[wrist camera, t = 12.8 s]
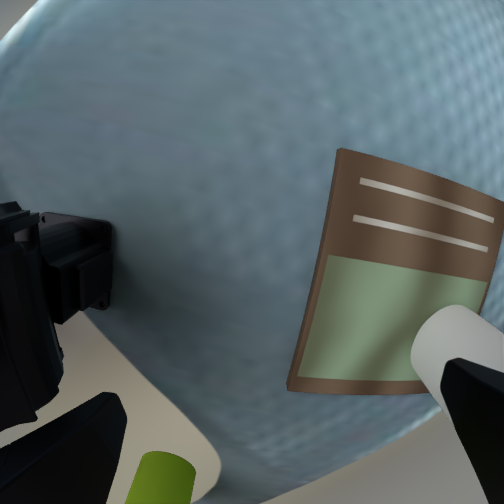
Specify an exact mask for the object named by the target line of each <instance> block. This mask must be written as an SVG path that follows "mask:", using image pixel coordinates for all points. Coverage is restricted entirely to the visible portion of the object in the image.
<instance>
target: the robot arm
mask: <svg viewBox="0 0 504 504" xmlns="http://www.w3.org/2000/svg"><path fill="white" fill-rule="evenodd" d="M45 217H46V221H45ZM38 223H39V225H38ZM103 225H104V226H105V227H106V231H103V229H102V227H103ZM111 231H112V228H111V224H110V223H109V222H108V221H104V220H98V219H91V218H84V217H77V216H71V215H64V214H57V213H50V212H44V213H42V214H41V215H40V216H39V213H30V210H25V211H24V210H22V209H21V208H20V206H19V205H18V203H17V202H16V201H14V202H7V203H1V204H0V432H1V431H3V430H5V429H7V428H10V427H13V426H16V425H18V424H23V423H30V422H35V421H37V419H38V417H37V416H36V413H35V411H37V410H39V409H40V408H42V407H43V406H45V405H46V404H48V403H49V402H50V401H51V400H52V399H53V398H54V397H55V396H56V395H57V394H58V393H59V388H58V385H59V383H60V381H61V378H62V376H63V373H64V371H63V362H62V360H63V357H64V355H63V351H62V348H61V347H60V346H59V342H58V338H57V334H56V330H55V326H54V323H57V324H61V325H62V324H63V323H64V322H66V321H67V320H68V319H69V318H71V317H72V316H73V315H74V314H76V313H77V312H78V311H79V310H80V311H84V310H85V309H87V308H88V307H91V308H95V309H99V310H106V309H107V308H108V307H109V306H110V289H111V288H112V257H113V255H112V253H111V251H110V250H111ZM101 301H103V302H104V304H105V305H103V304H102V303H101ZM440 391H441V394H442V396H443V399H444V401H445V404H446V406H447V409H448V412H449V414H450V417H451V419H452V422H453V425H454V427H455V430H456V432H457V434H458V436H459V438H460V440H461V443H462V445H463V446H464V449H465V451H466V453H467V455H468V457H469V459H470V461H471V464H472V466H473V468H474V470H475V472H476V475H477V477H478V479H479V481H480V484H481V486H482V488H483V490H484V493H485V495H486V498H487V500H488V503H489V504H504V373H503V372H500V371H497V370H494V369H491V368H489V367H486V366H483V365H480V364H477V363H474V362H471V361H468V360H466V359H463V358H460V357H458V358H454V359H451V360H448V361H447V362H446V364H445V367H444V371H443V374H442V378H441V382H440ZM126 424H127V416H126V413H125V410H124V408H123V406H122V403H121V401H120V398H119V396H118V395H117V394H115V393H110V392H102V393H100V394H98V395H97V396H95V397H93V398H92V399H90V400H88V401H86V402H85V403H83V404H81V405H79V406H78V407H76V408H74V409H73V410H71V411H69V412H67V413H65V414H63V415H62V416H60V417H58V418H57V419H55V420H53V421H51V422H49V423H47V424H45V425H44V426H42V427H40V428H38V429H36V430H35V431H33V432H31V433H29V434H27V435H25V436H24V437H21V438H19V439H18V440H16V441H14V442H12V443H11V444H8V445H6V446H4V447H2V448H0V504H106V502H107V499H108V495H109V492H110V489H111V486H112V482H113V479H114V476H115V473H116V470H117V466H118V463H119V458H120V453H121V448H122V443H123V439H124V434H125V429H126Z"/></svg>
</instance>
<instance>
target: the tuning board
mask: <svg viewBox="0 0 504 504" xmlns="http://www.w3.org/2000/svg"><path fill="white" fill-rule="evenodd" d="M503 229H504V202H502V201H500V200H498V199H496V198H493V197H491V196H489V195H486V194H484V193H481V192H479V191H476V190H474V189H471V188H469V187H466V186H464V185H461V184H458V183H456V182H453V181H450V180H448V179H445V178H442V177H439V176H436V175H433V174H430V173H428V172H425V171H422V170H418V169H415V168H412V167H409V166H406V165H403V164H399V163H396V162H393V161H389V160H386V159H382V158H379V157H375V156H371V155H367V154H364V153H360V152H356V151H352V150H348V149H344V148H340V149H337V153H336V160H335V166H334V172H333V178H332V184H331V190H330V195H329V201H328V206H327V212H326V217H325V222H324V227H323V232H322V237H321V242H320V247H319V252H318V257H317V261H316V266H315V271H314V275H313V280H312V284H311V288H310V293H309V297H308V301H307V305H306V310H305V314H304V318H303V322H302V326H301V330H300V334H299V338H298V341H297V345H296V349H295V353H294V357H293V360H292V364H291V368H290V371H289V375H288V378H287V382H286V385H287V391H294V392H307V393H322V394H346V395H398V394H421V393H430V391H429V390H428V389H427V387H426V386H425V384H424V383H423V382H422V380H421V379H420V377H419V376H418V375H417V373H416V372H415V370H414V369H413V367H412V364H411V358H410V356H411V349H412V345H413V342H414V340H415V337H416V335H417V333H418V331H419V329H420V328H421V326H422V325H423V323H424V322H425V321H426V320H427V319H428V318H429V317H430V316H432V315H433V314H434V313H436V312H437V311H439V310H441V309H442V308H444V307H447V306H450V305H462V306H465V307H467V308H468V309H470V310H471V311H473V312H474V313H476V314H477V315H480V312H481V309H482V307H483V304H484V301H485V298H486V295H487V291H488V288H489V285H490V282H491V278H492V275H493V271H494V267H495V264H496V260H497V256H498V252H499V247H500V243H501V238H502V234H503Z"/></svg>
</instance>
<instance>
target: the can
mask: <svg viewBox="0 0 504 504" xmlns="http://www.w3.org/2000/svg"><path fill="white" fill-rule="evenodd" d="M458 357H460V358H463V359H466V360H468V361H471V362H474V363H477V364H480V365H483V366H486V367H489V368H491V369H494V370H497V371H500V372H503V373H504V334H503V333H502V332H501V331H499V330H498V329H497V328H495V327H494V326H493V325H491V324H490V323H488V322H487V321H486V320H484V319H483V318H481V317H480V316H479V315H477V314H476V313H474V312H473V311H471V310H470V309H468V308H467V307H465V306H462V305H450V306H447V307H444V308H442V309H441V310H439V311H437V312H436V313H434V314H433V315H432V316H430V317H429V318H428V319H427V320H426V321H425V322H424V323H423V325H422V326H421V328H420V329H419V331H418V333H417V335H416V337H415V340H414V342H413V345H412V349H411V356H410V358H411V364H412V367H413V369H414V370H415V372H416V373H417V375H418V376H419V377H420V379H421V380H422V382H423V383H424V384H425V386H426V387H427V389H428V390H429V391H430V393H431V394H432V396H433V397H434V399H435V400H436V401H437V403H438V404H439V406H440V407H441V408H442V410H443V411H444V413H445V414H446V416H447V417H448V419H449V420H450V421H451V423H452V424H453V422H452V419H451V417H450V414H449V412H448V409H447V406H446V404H445V401H444V399H443V396H442V394H441V391H440V382H441V378H442V374H443V371H444V367H445V364H446V362H447V361H448V360H451V359H454V358H458ZM453 426H454V425H453Z"/></svg>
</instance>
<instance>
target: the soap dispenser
mask: <svg viewBox="0 0 504 504" xmlns="http://www.w3.org/2000/svg"><path fill="white" fill-rule="evenodd" d="M195 475H196V471H195V469H194V467H193V466H192V465H191V464H190V463H189V462H188V461H186V460H185V459H183V458H181V457H179V456H177V455H174V454H171V453H167V452H160V451H152V452H148V453H146V454H144V455H143V456H142V459H141V461H140V464H139V467H138V469H137V472H136V475H135V477H134V480H133V483H132V485H131V488H130V491H129V493H128V496H127V499H126V502H125V504H190V501H191V495H192V490H193V485H194V480H195Z"/></svg>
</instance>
